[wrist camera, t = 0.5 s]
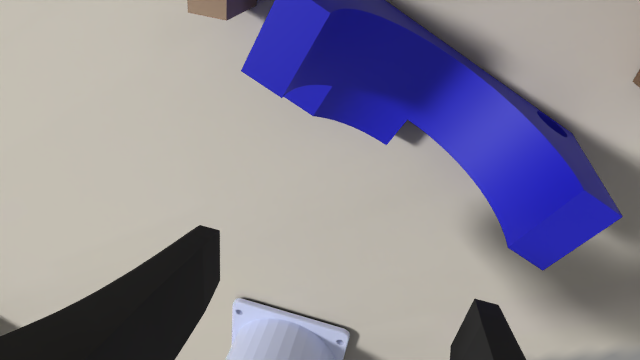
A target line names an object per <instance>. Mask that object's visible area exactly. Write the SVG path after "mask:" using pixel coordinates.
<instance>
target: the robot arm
mask: <svg viewBox="0 0 640 360" xmlns="http://www.w3.org/2000/svg"><path fill="white" fill-rule="evenodd" d="M219 281H220V230H216V229H212V228H208V227H205V226H201V225H199V226H198V227H196V228H195V229H193V230H192V231H190V232H189V233H187V234H186V235H184V236H183V237H181V238H180V239H178V240H177V241H176V242H174V243H173V244H171V245H170V246H168V247H167V248H165V249H164V250H162V251H161V252H159V253H158V254H156V255H155V256H153V257H152V258H150V259H149V260H147V261H146V262H144V263H143V264H141V265H140V266H138V267H136V268H135V269H133V270H132V271H130V272H129V273H127V274H125V275H124V276H122V277H120V278H118V279H117V280H115V281H113V282H112V283H110V284H108V285H107V286H105V287H103V288H102V289H100V290H98V291H96V292H94V293H93V294H91V295H89V296H87V297H85V298H83V299H81V300H80V301H78V302H76V303H74V304H72V305H70V306H68V307H66V308H64V309H62V310H60V311H58V312H56V313H53V314H51V315H49V316H47V317H45V318H42V319H40V320H38V321H36V322H33V323H31V324H29V325H26V326H24V327H22V328H20V329H17V330H15V331H13V332H10V333H8V334H6V335H3V336H1V337H0V360H175V358H176V357H177V355H178V354H179V352H180V350H181V349H182V347H183V346H184V344H185V343H186V341H187V340H188V338H189V336H190V335H191V333H192V332H193V330H194V328H195V327H196V325H197V324H198V322H199V320H200V319H201V317H202V316H203V314H204V312H205V311H206V308H207V306H208V304H209V302H210V300H211V298H212V296H213V294H214V292H215V290H216V288H217V285H218V283H219ZM349 337H350V333H349V332H348V331H347V330H346V329H344V328H340V327H337V326H334V325H330V324H327V323H323V322H320V321H317V320H313V319H310V318H306V317H303V316H300V315H296V314H293V313H289V312H286V311H283V310H279V309H276V308H272V307H269V306H266V305H262V304H259V303H256V302H252V301H249V300H245V299H242V298H237V299H235V301H234V303H233V315H232V347H231V349H230V351H229V353H228V355H227V357H226V359H225V360H343V358H344V355H345V351H346V348H347V344H348V341H349ZM450 360H526V358H525V356H524V354H523V352H522V351H521V349H520V347H519V345H518V343H517V341H516V339H515V337H514V335H513V333H512V331H511V329H510V327H509V325H508V323H507V321H506V319H505V317H504V315H503V313H502V311H501V309H500V307H499V306H498V305H496V304H492V303H489V302H485V301H481V300H477V299H474V301H473V303H472V305H471V307H470V309H469V311H468V313H467V315H466V317H465V319H464V321H463V323H462V325H461V327H460V329H459V331H458V333H457V335H456V337H455V339H454V341H453V343H452V345H451V352H450Z"/></svg>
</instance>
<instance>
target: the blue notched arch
mask: <svg viewBox="0 0 640 360" xmlns="http://www.w3.org/2000/svg"><path fill="white" fill-rule="evenodd" d="M241 71H242V72H243V73H245V74H246V75H248V76H249V77H251V78H252V79H254V80H255V81H257V82H258V83H260V84H262V85H263V86H265V87H266V88H268V89H269V90H271V91H272V92H274V93H275V94H277V95H278V96H280V97H281V98H282V97H283V96H284V97H285V98H287V99H288V100H290V101H291V102H293V103H294V104H296V105H297V106H299V107H300V108H302V109H303V110H305V111H306V112H308V113H309V114H311V115H312V116H317V117H323V118H327V119H332V120H335V121H338V122H341V123H344V124H347V125H349V126H352V127H354V128H356V129H359V130H361V131H363V132H365V133H367V134H369V135H370V136H372V137H374V138H376V139H377V140H379V141H381V142H382V143H384V144H385V145H387V144H388V143H389V141H390V140H391V139H392V138H393V136H394V135H395V134H396V133H397V132H398V130H399V129H400V128H401V127H402V126H403V124H404V123H405V122H406V121H407V120H409V121H410V122H412V123H413V124H415V125H416V126H417V127H419V128H420V129H421V130H423V131H424V132H425V133H426V134H428V135H429V136H430V137H431V138H432V139H434V140H435V141H436V142H437V143H438V144H439V145H440V146H442V147H443V148H444V149H445V150H446V151H447V152H448V153H449V154H450V155H451V156H452V157H453V158H454V159H455V160H456V161H457V162H458V163H459V164H460V166H461V167H462V168H463V169H464V170H465V171H466V172H467V173H468V175H469V176H470V177H471V178H472V179H473V181H474V182H475V183H476V185H477V186H478V187H479V189H480V190H481V192H482V193H483V194H484V196H485V197H486V199H487V201H488V202H489V204H490V205H491V207H492V209H493V211H494V213H495V214H496V216H497V218H498V220H499V223H500V225H501V227H502V230H503V232H504V235H505V238H506V242H507V246H508V248H509V249H511V250H512V251H514V252H515V253H517V254H519V255H520V256H522V257H523V258H525V259H526V260H528V261H529V262H531V263H532V264H534V265H535V266H537V267H538V268H540V269H541V270H544V269H546V268H547V267H549V266H550V265H552V264H553V263H555V262H556V261H558V260H559V259H561V258H562V257H564V256H565V255H567V254H568V253H570V252H571V251H573V250H574V249H576V248H577V247H579V246H580V245H581V244H583V243H584V242H586V241H587V240H589V239H590V238H592V237H593V236H595V235H596V234H598V233H599V232H601V231H602V230H604V229H605V228H607V227H608V226H610V225H611V224H613V223H614V222H616V221H617V220H619V219H620V218H622V217H623V216H622V215H621V213H620V211H619V210H618V208H617V206H616V205H615V203H614V201H613V200H612V198H611V197H610V195H609V193H608V192H607V190H606V188H605V187H604V185H603V183H602V182H601V180H600V178H599V177H598V175H597V174H596V172H595V170H594V169H593V167H592V165H591V164H590V162H589V160H588V159H587V157H586V155H585V154H584V152H583V150H582V149H581V147H580V146H579V144H578V142H577V141H576V139H575V137H574V136H573V134H572V133H571V132H570V131H568V130H567V129H565V128H564V127H563V126H561V125H560V124H558V123H557V122H556V121H554V120H553V119H551V118H550V117H549V116H547V115H546V114H544V113H543V112H542V111H540V110H539V109H537V108H536V107H534V106H533V105H532V104H530V103H529V102H527V101H526V100H525V99H523V98H522V97H520V96H519V95H518V94H516V93H515V92H513V91H512V90H511V89H509V88H508V87H506V86H505V85H504V84H502V83H501V82H499V81H498V80H497V79H495V78H494V77H492V76H491V75H489V74H488V73H487V72H485V71H484V70H482V69H481V68H480V67H478V66H477V65H475V64H474V63H473V62H471V61H470V60H468V59H467V58H466V57H464V56H463V55H461V54H460V53H459V52H457V51H456V50H454V49H453V48H452V47H450V46H449V45H447V44H446V43H444V42H443V41H442V40H440V39H439V38H437V37H436V36H435V35H433V34H432V33H430V32H429V31H428V30H426V29H425V28H423V27H422V26H421V25H419V24H418V23H416V22H415V21H414V20H412V19H411V18H409V17H408V16H407V15H405V14H404V13H402V12H401V11H400V10H398V9H397V8H395V7H394V6H392V5H391V4H390V3H388V2H387V1H385V0H275V1H274V3H273V5H272V7H271V9H270V12H269V14H268V16H267V18H266V20H265V22H264V24H263V26H262V28H261V30H260V32H259V35H258V37H257V39H256V41H255V43H254V45H253V47H252V49H251V51H250V53H249V55H248V57H247V60H246V62H245V64H244V66H243V68H242V70H241Z"/></svg>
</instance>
